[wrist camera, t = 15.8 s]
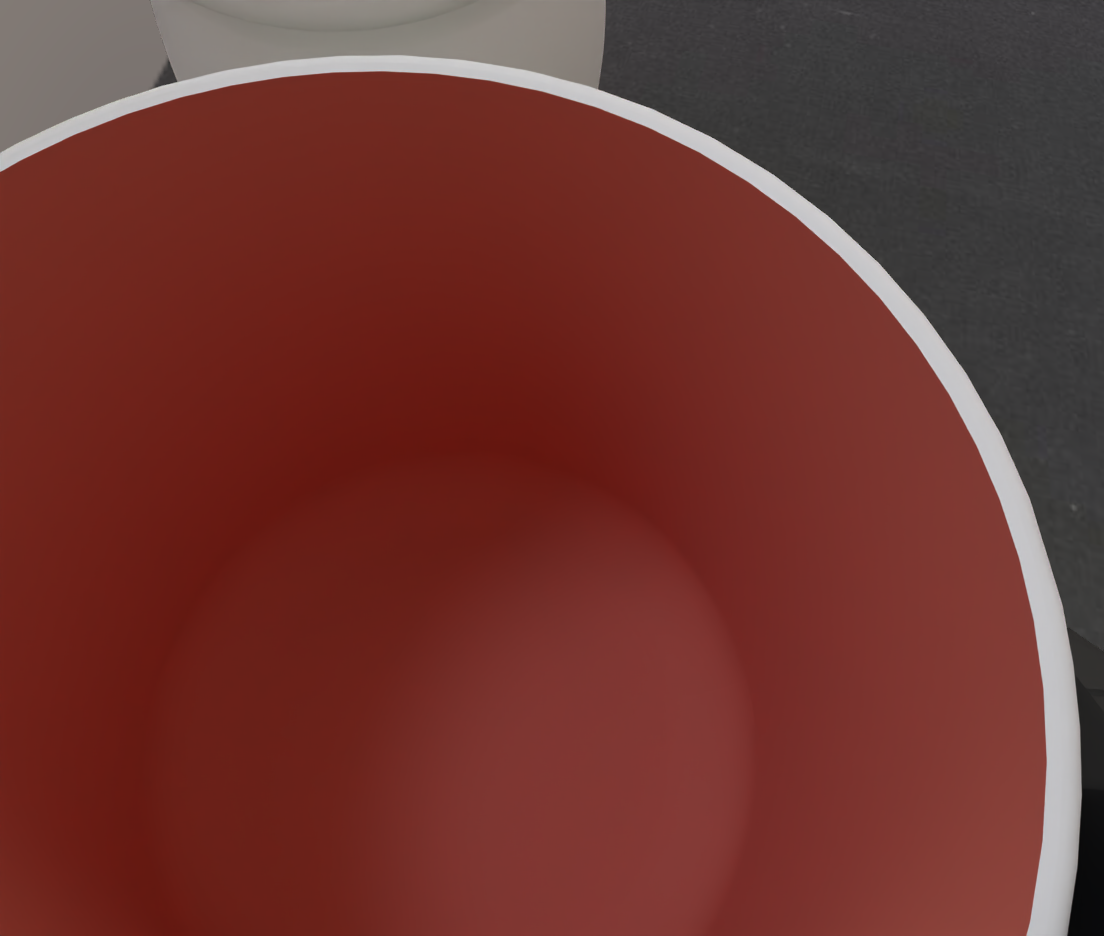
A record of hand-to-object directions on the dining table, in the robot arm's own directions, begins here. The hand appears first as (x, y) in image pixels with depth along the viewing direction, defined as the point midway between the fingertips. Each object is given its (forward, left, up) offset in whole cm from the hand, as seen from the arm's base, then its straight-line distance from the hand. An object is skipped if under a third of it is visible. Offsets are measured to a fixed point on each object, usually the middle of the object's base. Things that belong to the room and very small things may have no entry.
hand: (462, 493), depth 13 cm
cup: (+3, -1, -4) cm, 5 cm away
